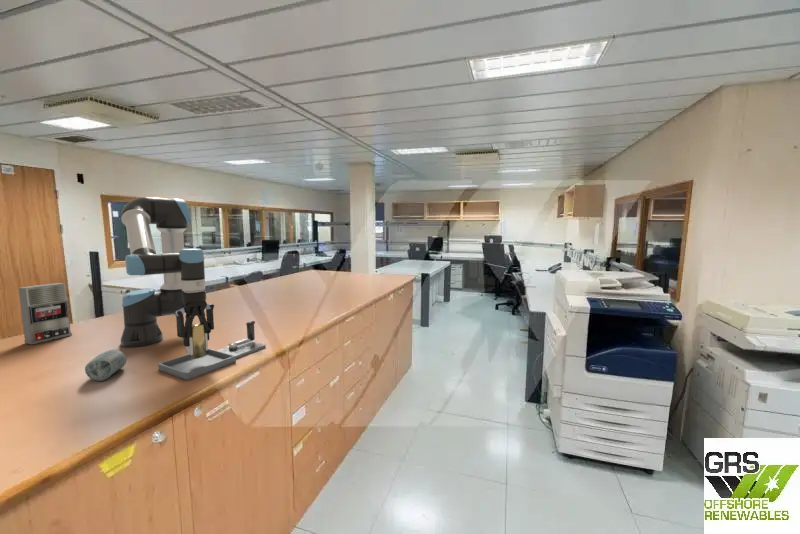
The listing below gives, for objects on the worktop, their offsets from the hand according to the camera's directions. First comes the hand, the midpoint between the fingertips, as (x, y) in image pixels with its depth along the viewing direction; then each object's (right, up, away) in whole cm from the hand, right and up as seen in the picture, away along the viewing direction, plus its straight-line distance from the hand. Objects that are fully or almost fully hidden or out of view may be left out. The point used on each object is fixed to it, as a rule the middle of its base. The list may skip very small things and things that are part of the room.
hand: (197, 351), depth 126 cm
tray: (0, -6, +1) cm, 6 cm away
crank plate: (+8, -4, +17) cm, 19 cm away
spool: (-27, -7, -8) cm, 29 cm away
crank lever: (+8, -2, +20) cm, 21 cm away
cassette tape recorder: (-84, -1, +27) cm, 89 cm away
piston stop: (0, -2, 0) cm, 2 cm away
